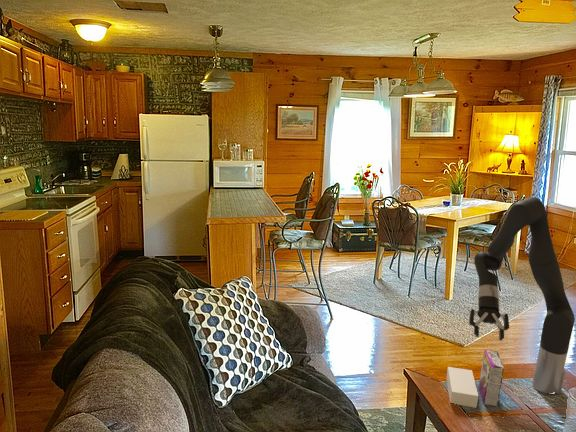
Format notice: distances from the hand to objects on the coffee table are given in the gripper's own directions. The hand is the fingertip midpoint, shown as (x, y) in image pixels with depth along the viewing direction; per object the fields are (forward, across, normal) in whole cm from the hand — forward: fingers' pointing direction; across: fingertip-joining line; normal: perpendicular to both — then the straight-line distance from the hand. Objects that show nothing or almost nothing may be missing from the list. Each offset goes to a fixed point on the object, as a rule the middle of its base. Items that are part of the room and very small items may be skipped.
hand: (489, 338), depth 181 cm
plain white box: (+21, -10, +4) cm, 23 cm away
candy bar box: (+21, 0, +4) cm, 21 cm away
